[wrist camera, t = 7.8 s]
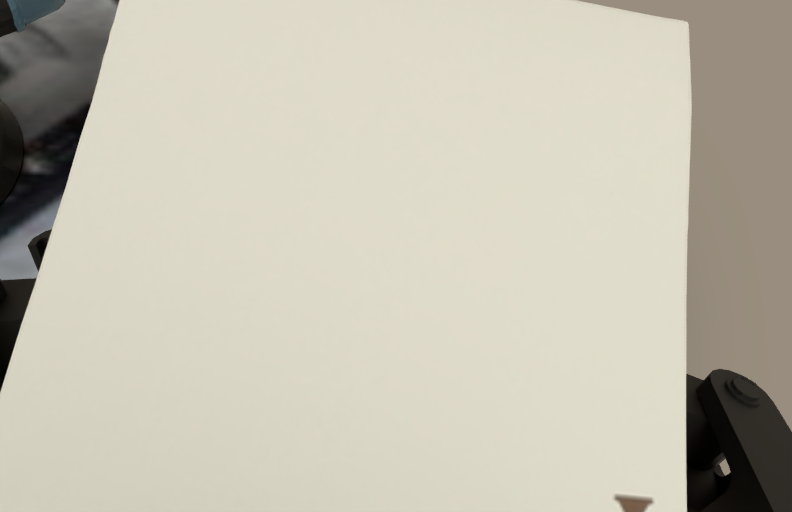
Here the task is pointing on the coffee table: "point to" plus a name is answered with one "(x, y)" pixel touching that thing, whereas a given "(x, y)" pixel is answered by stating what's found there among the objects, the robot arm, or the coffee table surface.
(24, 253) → the coffee table surface
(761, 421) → the robot arm
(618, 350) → the supplement box
